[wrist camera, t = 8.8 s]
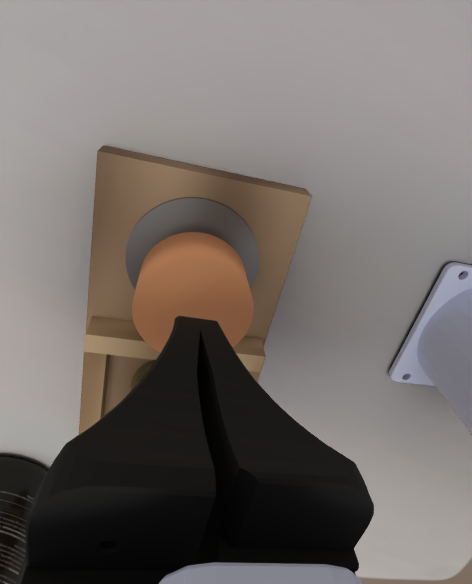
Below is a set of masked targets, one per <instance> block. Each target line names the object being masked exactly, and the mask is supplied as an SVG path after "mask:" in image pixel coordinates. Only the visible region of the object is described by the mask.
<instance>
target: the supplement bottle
mask: <svg viewBox="0 0 472 584" xmlns="http://www.w3.org/2000/svg"><path fill="white" fill-rule="evenodd" d="M47 472H48V471H46V470H45V469H44V468H42V467H40V466H39V465H37V464H35V463H32V462H30V461H27V460H23V459H20V458H15V457H6V456H0V584H21V581H22V578H23V575H24V572H25V569H26V566H27V564H26V533H25V528H26V523H27V518H28V515H29V512H30V509H31V506H32V504H33V501H34V498H35V495H36V493H37V491H38V489H39V487H40V485H41V483H42V481H43V479H44V477H45V475H46V473H47Z"/></svg>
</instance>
